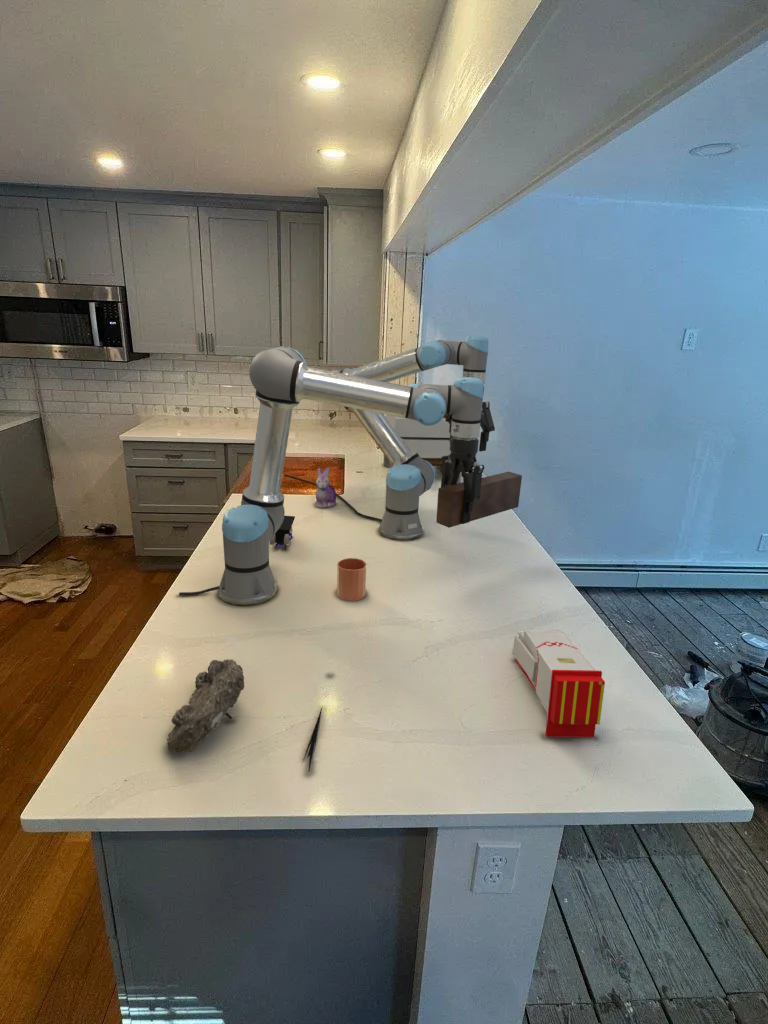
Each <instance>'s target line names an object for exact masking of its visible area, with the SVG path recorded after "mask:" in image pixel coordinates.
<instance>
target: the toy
mask: <svg viewBox="0 0 768 1024" xmlns="http://www.w3.org/2000/svg"><path fill="white" fill-rule="evenodd" d="M511 653H512V655H513V656H514V661H515V662H516V664H517V666H518V667H519V669H520V670H521V672H522V673H523V675H524V676H525V678H526V679H527V681H528V682H529V684H530V685H531V687H532V689H533V690H534V691H535V693H536V696H537V697H538V699H539V700H540V702H541V705H542V706H543V708H544V709H545V711H546V713H547V717H546V725H545V726H546V727H545V737H546V738H595V734H596V725H601V717H602V708H603V701H604V693H605V684H606V681H605V680H604V679H603V678H602V677H603V671H602V670H596V669H595V668H594V667H593V665H592V664H591V663H590V662H589V660H588V659H587V658H586V657H585V655H584V654H583V653H582V652H581V651H580V650H579V648H578V647H577V646H576V645H575V643H574V642H573V641H572V640H571V639H570V637H569V635H567V633H566V632H565V631H564V630H560V629H559V630H554V629H552V630H551V629H550V630H549V629H523V631H518V635H514V639H513V645H512V652H511Z"/></svg>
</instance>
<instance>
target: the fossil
mask: <svg viewBox="0 0 768 1024" xmlns="http://www.w3.org/2000/svg"><path fill="white" fill-rule="evenodd" d="M243 670H244V669H243V667H242V665H240V664H237V662H236V661H235V660H234V659H232V658H231V659H227V658H226V659H224V660H223V661H222V660H217V659H212V660H211V661H210V663H209V665H208V666H207V671H201V672H199V673H198V674H197V675H196V676H195V680H194V684H195V685H194V687H195V689H194V690H193V693H192V694H191V697H190V698H189V700H188V704H184V705H182V706H181V707H180V709H177V710H176V711H175V713H174V715H173V716H172V718H171V723H172V724H173V727H172V730H171V731H170V732H168V734H167V738H166V741H167V742H166V745H167V749H168V750H169V751H173V752H174V753H176V754H178V753H182V752H188V751H189V752H192V751H193V750H195V748H196V747H197V746H199V744H200V743H201V742H203V741H204V740H205V739H206V738H207V737H208V736H209V735H210V734H211V733H212V732H214V730H215V729H217V727H218V726H219V724H220V722H221V721H222V720H223V719H224V718H225V716H226V717H227V719H229V720H233V717H232V715H230V714H229V710H230V709H231V708H234V706H235V704H236V703H237V702H238V699H239V697H240V695H241V693H242V691H243V690H245V689H244V688H245V675H244V671H243Z"/></svg>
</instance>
